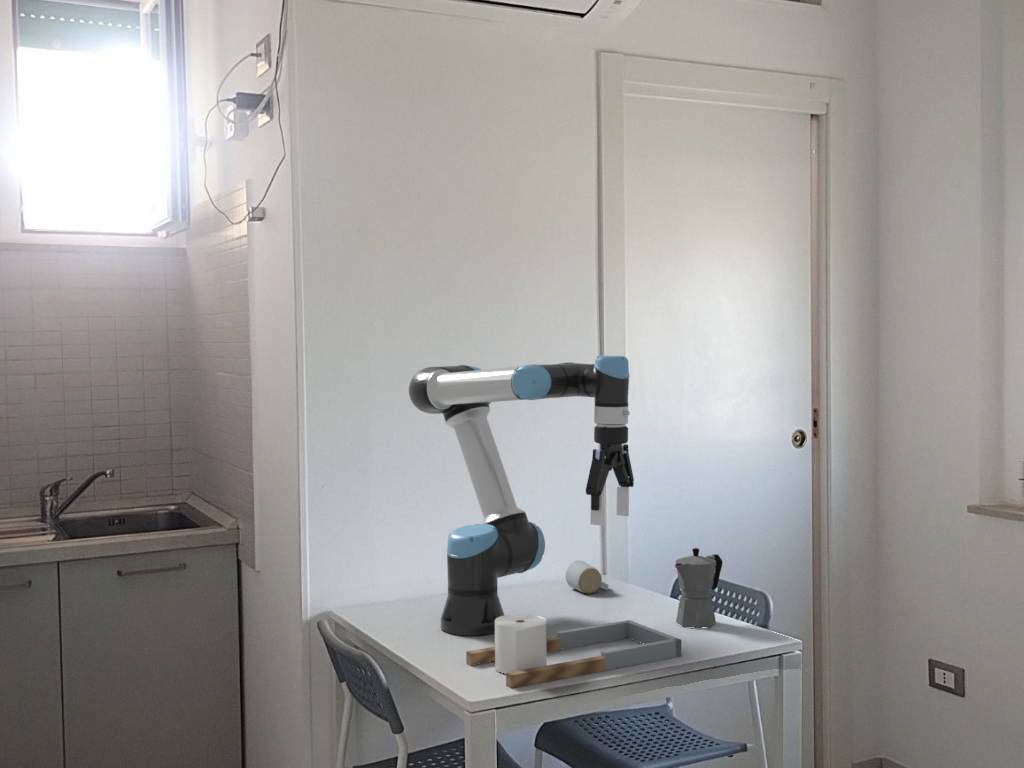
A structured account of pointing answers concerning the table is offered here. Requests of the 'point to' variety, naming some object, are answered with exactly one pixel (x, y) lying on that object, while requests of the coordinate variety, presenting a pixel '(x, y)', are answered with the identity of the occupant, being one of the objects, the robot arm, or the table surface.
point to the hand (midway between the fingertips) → (610, 520)
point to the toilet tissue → (520, 642)
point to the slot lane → (541, 672)
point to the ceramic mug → (584, 577)
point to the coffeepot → (697, 589)
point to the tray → (651, 650)
